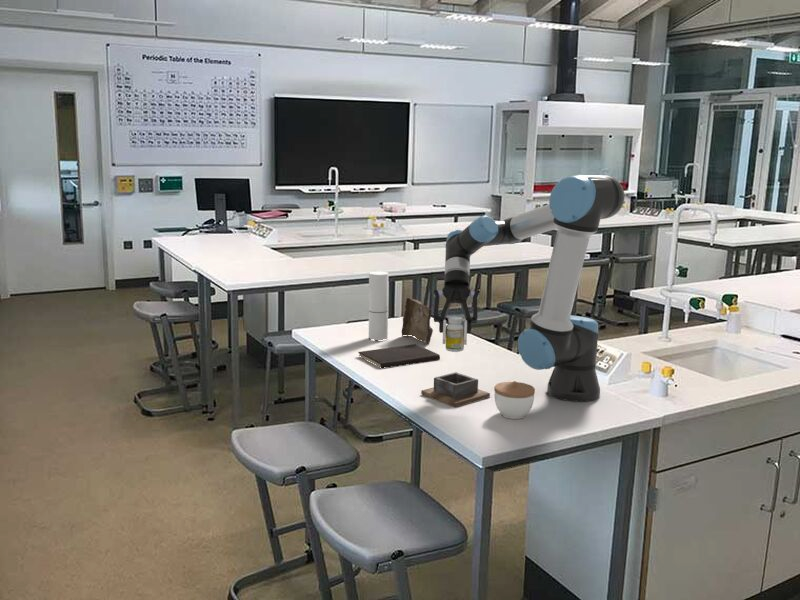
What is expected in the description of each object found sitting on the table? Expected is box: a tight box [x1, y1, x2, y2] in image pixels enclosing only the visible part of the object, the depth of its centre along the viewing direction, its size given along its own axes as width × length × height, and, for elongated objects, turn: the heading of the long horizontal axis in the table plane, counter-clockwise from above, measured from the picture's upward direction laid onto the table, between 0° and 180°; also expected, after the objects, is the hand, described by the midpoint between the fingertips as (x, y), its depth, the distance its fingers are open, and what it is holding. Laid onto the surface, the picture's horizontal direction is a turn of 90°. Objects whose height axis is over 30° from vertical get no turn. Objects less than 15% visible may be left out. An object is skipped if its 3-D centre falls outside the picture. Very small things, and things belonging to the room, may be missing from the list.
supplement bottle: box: [445, 315, 465, 353], centre depth 214 cm, size 5×5×10 cm
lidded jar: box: [493, 380, 536, 420], centre depth 198 cm, size 11×11×9 cm
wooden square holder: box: [420, 371, 491, 408], centre depth 214 cm, size 14×14×5 cm
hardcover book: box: [358, 343, 441, 369], centre depth 252 cm, size 16×23×2 cm
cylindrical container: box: [368, 271, 389, 340], centre depth 275 cm, size 7×7×25 cm
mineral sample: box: [401, 297, 434, 346], centre depth 275 cm, size 17×4×15 cm, turn 33°
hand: (454, 341), depth 211 cm, fingers closed on supplement bottle, 5 cm apart
